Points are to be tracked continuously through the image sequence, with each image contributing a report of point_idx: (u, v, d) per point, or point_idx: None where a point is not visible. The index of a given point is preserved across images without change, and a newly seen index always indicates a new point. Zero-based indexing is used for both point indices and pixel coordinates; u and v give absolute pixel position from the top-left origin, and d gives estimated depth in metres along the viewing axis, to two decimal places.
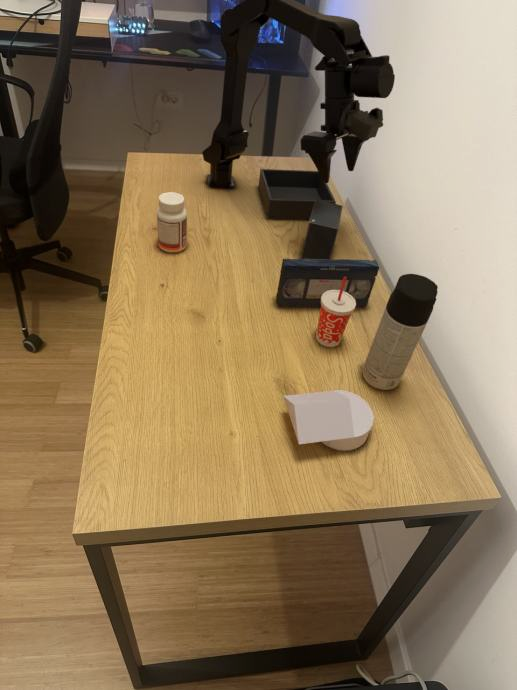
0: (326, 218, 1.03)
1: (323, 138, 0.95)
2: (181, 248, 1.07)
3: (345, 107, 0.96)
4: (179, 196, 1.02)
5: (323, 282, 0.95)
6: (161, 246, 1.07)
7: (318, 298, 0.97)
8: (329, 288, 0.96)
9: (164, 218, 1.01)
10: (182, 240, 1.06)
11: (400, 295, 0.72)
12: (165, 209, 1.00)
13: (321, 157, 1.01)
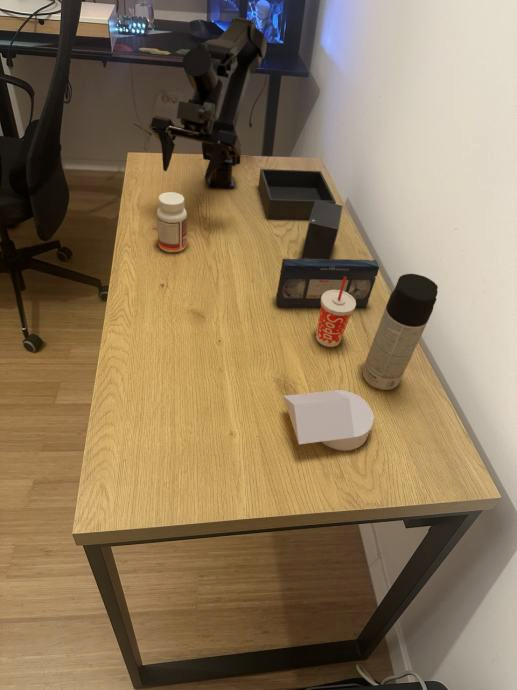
0: (326, 218, 1.03)
1: (155, 116, 1.04)
2: (181, 248, 1.07)
3: (189, 101, 1.03)
4: (179, 196, 1.02)
5: (323, 282, 0.95)
6: (161, 246, 1.07)
7: (318, 298, 0.97)
8: (329, 288, 0.96)
9: (164, 218, 1.01)
10: (182, 240, 1.06)
11: (400, 295, 0.72)
12: (165, 209, 1.00)
13: None
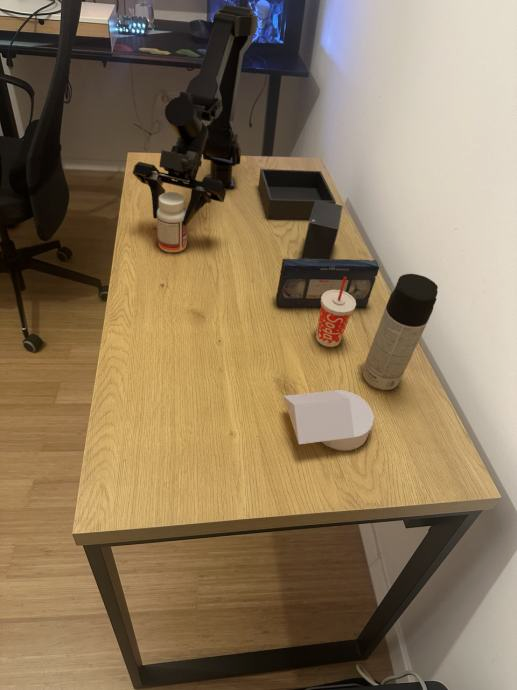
0: (326, 218, 1.03)
1: (138, 162, 1.02)
2: (181, 248, 1.07)
3: (172, 147, 1.01)
4: (179, 196, 1.02)
5: (323, 282, 0.95)
6: (161, 246, 1.07)
7: (318, 298, 0.97)
8: (329, 288, 0.96)
9: (164, 218, 1.01)
10: (182, 240, 1.06)
11: (400, 295, 0.72)
12: (165, 209, 1.00)
13: None
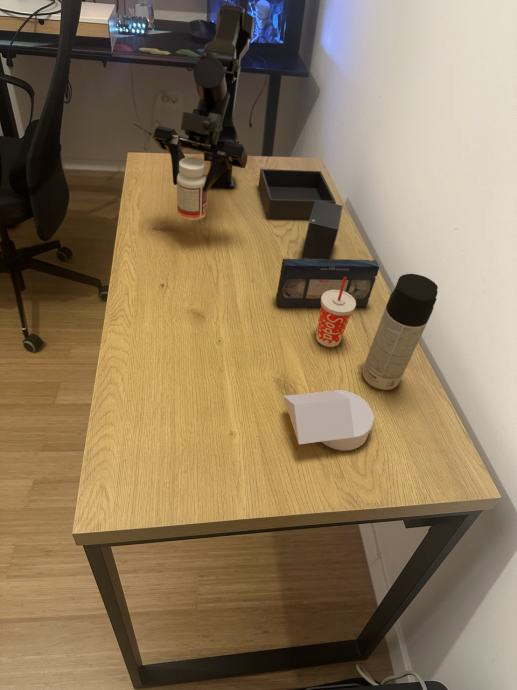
0: (326, 218, 1.03)
1: (158, 126, 1.00)
2: (201, 216, 1.05)
3: (193, 111, 0.98)
4: (200, 161, 0.99)
5: (323, 282, 0.95)
6: (181, 214, 1.04)
7: (318, 298, 0.97)
8: (329, 288, 0.96)
9: (185, 183, 0.99)
10: (203, 207, 1.04)
11: (400, 295, 0.72)
12: (186, 174, 0.98)
13: None
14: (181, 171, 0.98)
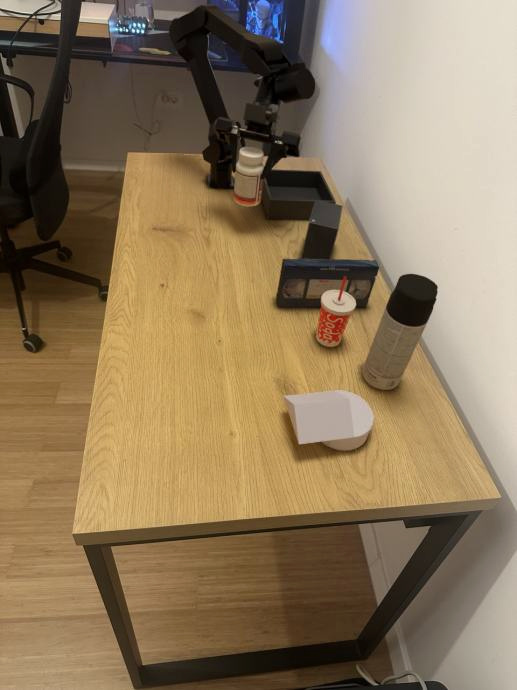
0: (326, 218, 1.03)
1: (219, 117, 1.06)
2: (256, 202, 1.11)
3: (253, 102, 1.05)
4: (258, 150, 1.06)
5: (323, 282, 0.95)
6: (237, 200, 1.10)
7: (318, 298, 0.97)
8: (329, 288, 0.96)
9: (244, 171, 1.05)
10: (259, 194, 1.10)
11: (400, 295, 0.72)
12: (246, 162, 1.04)
13: None
14: (241, 159, 1.04)
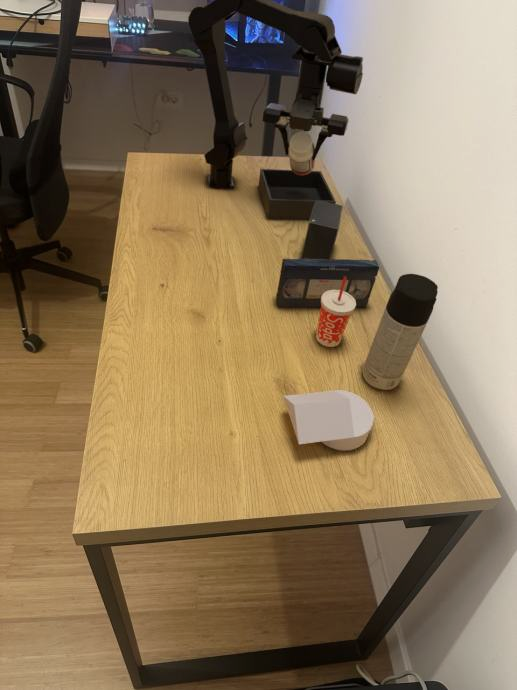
0: (326, 218, 1.03)
1: (266, 109, 1.11)
2: (311, 170, 1.24)
3: (296, 94, 1.07)
4: (307, 138, 1.14)
5: (323, 282, 0.95)
6: (294, 171, 1.24)
7: (318, 298, 0.97)
8: (329, 288, 0.96)
9: (297, 160, 1.17)
10: (312, 165, 1.22)
11: (400, 295, 0.72)
12: (297, 155, 1.15)
13: None
14: (292, 152, 1.15)
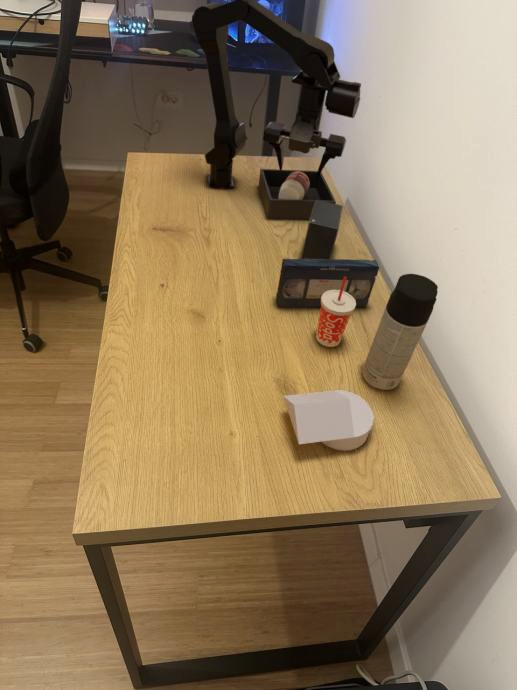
0: (326, 218, 1.03)
1: (266, 129, 1.15)
2: None
3: (296, 116, 1.11)
4: (294, 193, 1.19)
5: (323, 282, 0.95)
6: None
7: (318, 298, 0.97)
8: (329, 288, 0.96)
9: None
10: (306, 192, 1.27)
11: (400, 295, 0.72)
12: None
13: None
14: None
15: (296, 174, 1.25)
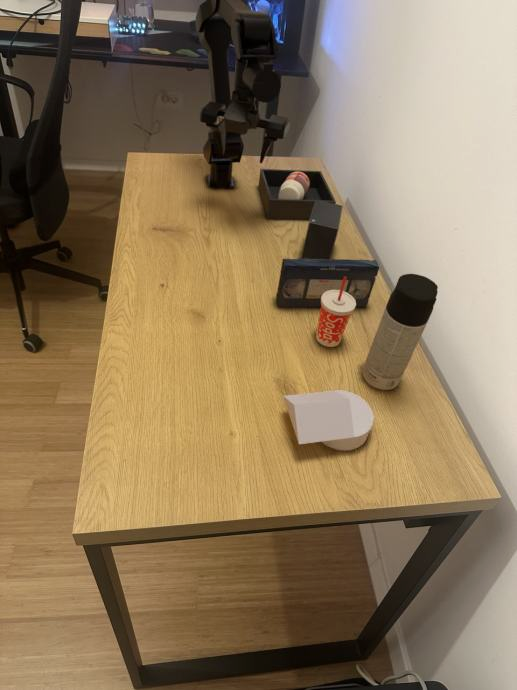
0: (326, 218, 1.03)
1: (203, 108, 1.06)
2: None
3: (232, 94, 1.02)
4: (294, 193, 1.19)
5: (323, 282, 0.95)
6: None
7: (318, 298, 0.97)
8: (329, 288, 0.96)
9: None
10: None
11: (400, 295, 0.72)
12: None
13: None
14: None
15: (296, 174, 1.25)
